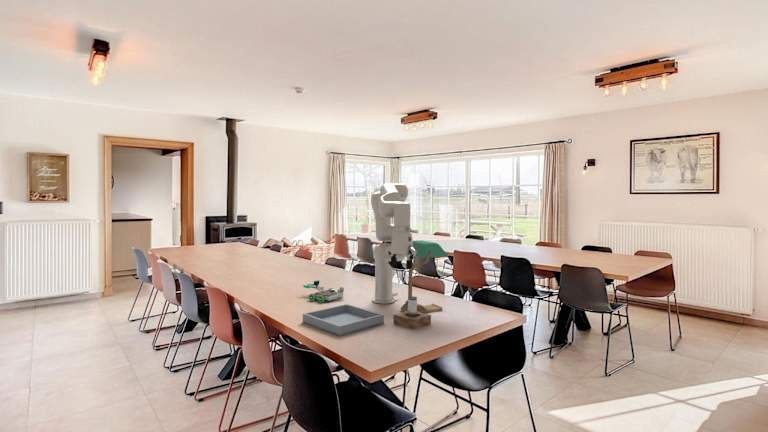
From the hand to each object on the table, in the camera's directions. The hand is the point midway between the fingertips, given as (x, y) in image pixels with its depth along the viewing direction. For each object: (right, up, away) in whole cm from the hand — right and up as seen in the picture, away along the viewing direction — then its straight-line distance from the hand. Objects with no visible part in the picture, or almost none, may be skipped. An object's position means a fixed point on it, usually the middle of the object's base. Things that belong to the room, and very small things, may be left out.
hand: (401, 267), depth 192 cm
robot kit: (-44, -23, +48) cm, 69 cm away
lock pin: (+5, -26, 0) cm, 26 cm away
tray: (-26, -25, 0) cm, 36 cm away
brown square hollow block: (+5, -26, 0) cm, 26 cm away
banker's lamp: (+12, -25, +23) cm, 36 cm away
